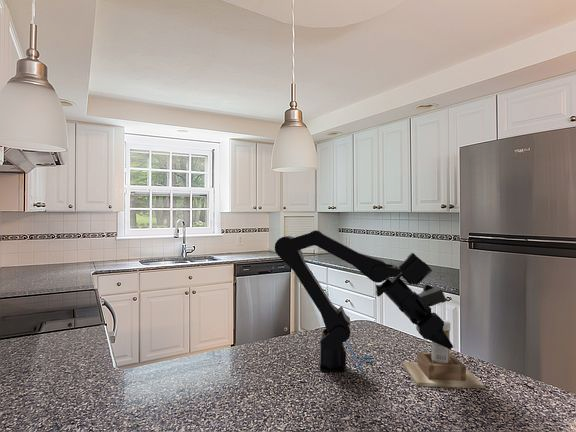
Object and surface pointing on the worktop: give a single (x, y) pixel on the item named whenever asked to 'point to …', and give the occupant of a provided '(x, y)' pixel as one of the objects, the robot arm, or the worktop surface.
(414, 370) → the bottle stand
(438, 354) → the sprinkles bottle
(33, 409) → the worktop surface
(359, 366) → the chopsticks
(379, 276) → the robot arm
